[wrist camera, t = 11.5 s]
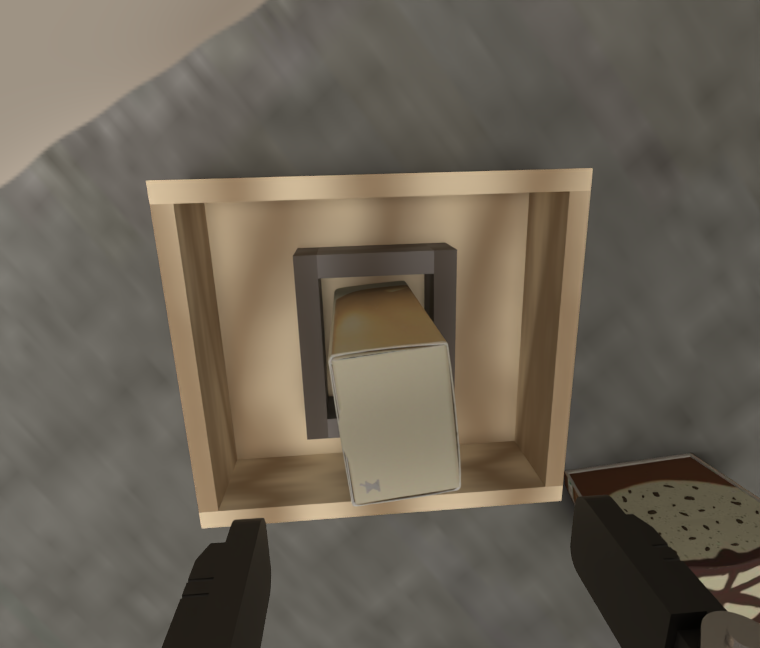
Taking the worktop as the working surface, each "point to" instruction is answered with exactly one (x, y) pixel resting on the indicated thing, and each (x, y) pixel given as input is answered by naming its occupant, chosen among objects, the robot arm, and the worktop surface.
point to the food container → (690, 519)
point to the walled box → (314, 317)
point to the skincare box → (392, 395)
